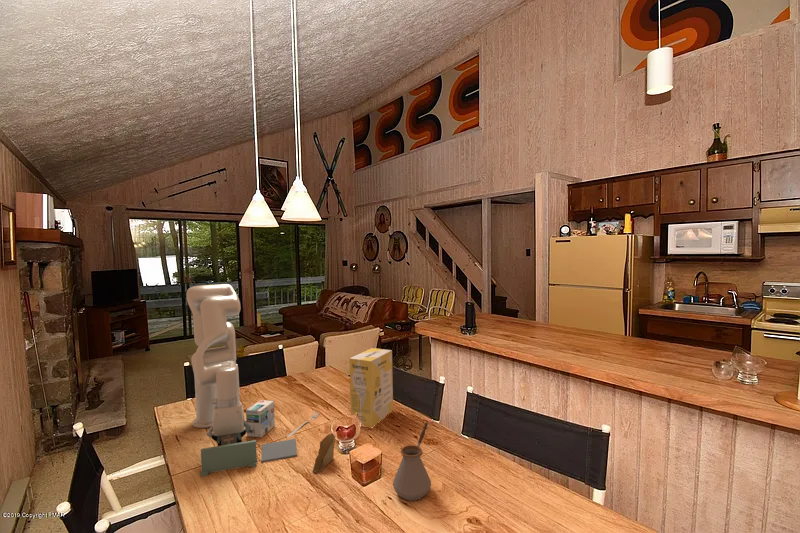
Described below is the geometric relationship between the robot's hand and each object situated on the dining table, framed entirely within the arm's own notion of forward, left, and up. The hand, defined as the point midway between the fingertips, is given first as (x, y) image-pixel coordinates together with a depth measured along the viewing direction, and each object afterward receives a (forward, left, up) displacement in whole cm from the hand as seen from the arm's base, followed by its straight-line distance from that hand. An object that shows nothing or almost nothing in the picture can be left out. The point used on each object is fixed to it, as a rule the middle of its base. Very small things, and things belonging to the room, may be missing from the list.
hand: (230, 450), depth 136 cm
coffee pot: (+39, +58, -2) cm, 70 cm away
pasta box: (-11, +56, -2) cm, 57 cm away
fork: (-13, +26, -2) cm, 29 cm away
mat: (+4, +17, -1) cm, 18 cm away
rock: (+18, +31, -2) cm, 36 cm away
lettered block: (0, 0, -2) cm, 2 cm away
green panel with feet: (+10, +1, -1) cm, 10 cm away
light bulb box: (-15, +10, -2) cm, 18 cm away
